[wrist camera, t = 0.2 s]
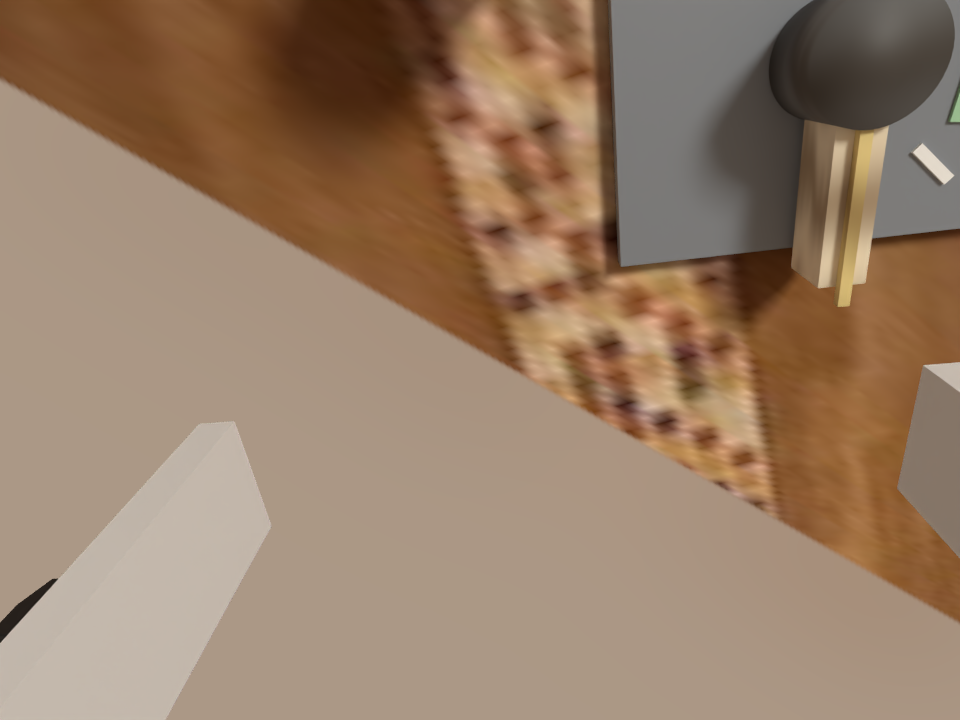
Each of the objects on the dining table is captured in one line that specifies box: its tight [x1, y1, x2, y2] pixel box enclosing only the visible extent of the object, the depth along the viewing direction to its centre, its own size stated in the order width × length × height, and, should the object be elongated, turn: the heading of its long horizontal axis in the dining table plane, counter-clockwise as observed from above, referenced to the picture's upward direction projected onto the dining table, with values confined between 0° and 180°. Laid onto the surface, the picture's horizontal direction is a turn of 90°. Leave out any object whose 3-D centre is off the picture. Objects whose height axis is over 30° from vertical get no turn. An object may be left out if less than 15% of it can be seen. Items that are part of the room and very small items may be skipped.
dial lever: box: [769, 0, 955, 307], centre depth 31 cm, size 15×6×5 cm, turn 8°
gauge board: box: [608, 0, 960, 267], centre depth 32 cm, size 20×22×1 cm
